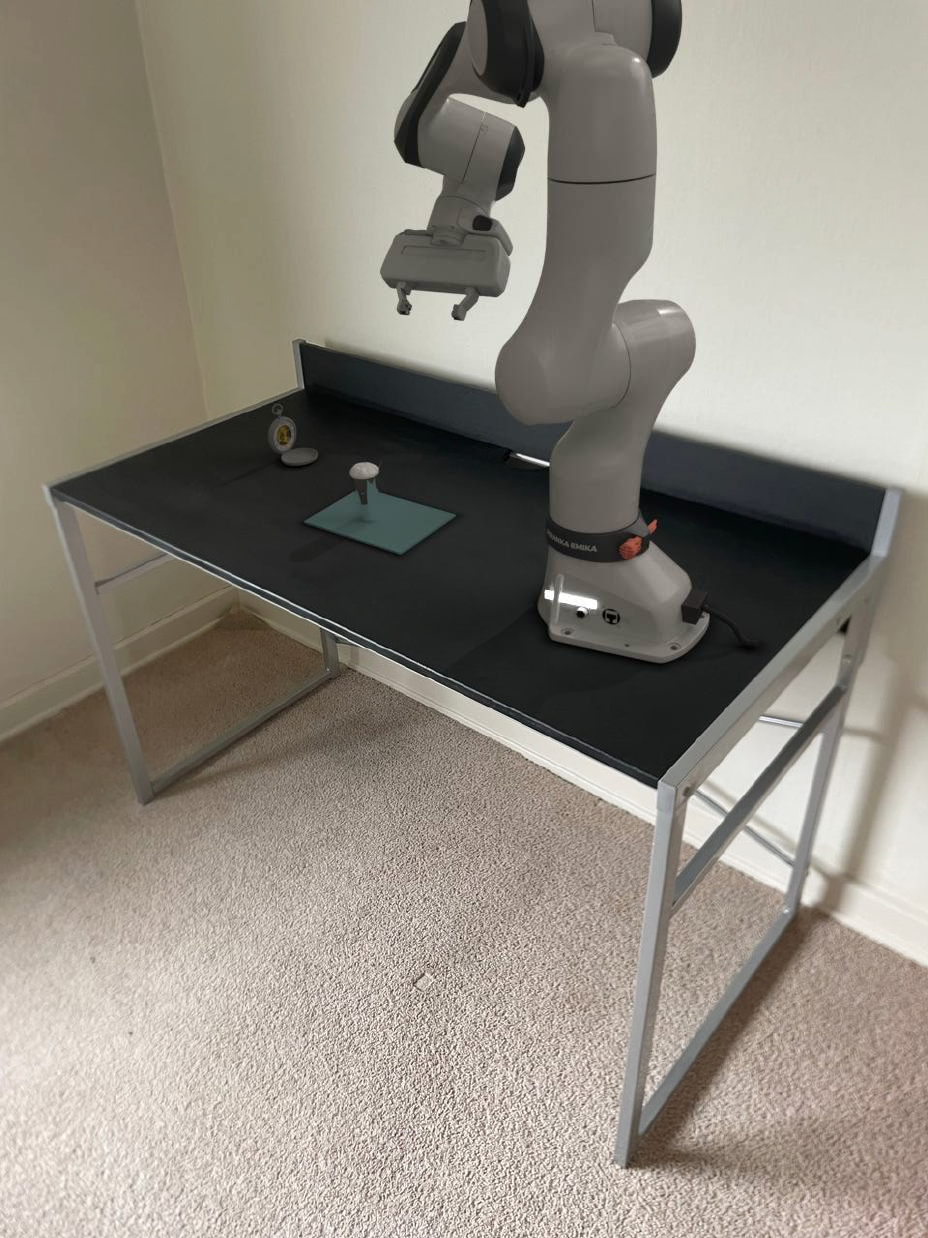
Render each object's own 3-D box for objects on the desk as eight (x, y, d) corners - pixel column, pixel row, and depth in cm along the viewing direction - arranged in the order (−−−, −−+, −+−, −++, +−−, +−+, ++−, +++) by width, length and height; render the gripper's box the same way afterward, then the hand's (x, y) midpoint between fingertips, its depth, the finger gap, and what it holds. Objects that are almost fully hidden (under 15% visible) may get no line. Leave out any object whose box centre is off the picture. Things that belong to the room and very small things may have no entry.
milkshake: (384, 524, 145) (377, 466, 139) (352, 523, 146) (344, 465, 140) (392, 511, 148) (385, 454, 143) (360, 510, 149) (352, 453, 144)
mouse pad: (455, 516, 146) (455, 514, 146) (400, 555, 137) (400, 553, 137) (361, 489, 157) (361, 486, 156) (304, 523, 148) (303, 521, 147)
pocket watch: (315, 467, 165) (307, 414, 159) (269, 469, 165) (259, 416, 160) (322, 448, 172) (314, 396, 166) (277, 450, 172) (268, 399, 167)
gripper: (388, 216, 140) (361, 299, 139) (509, 222, 132) (481, 310, 130) (406, 240, 146) (380, 320, 144) (523, 247, 137) (496, 332, 136)
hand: (429, 315), depth 137 cm, fingers open, 8 cm apart
